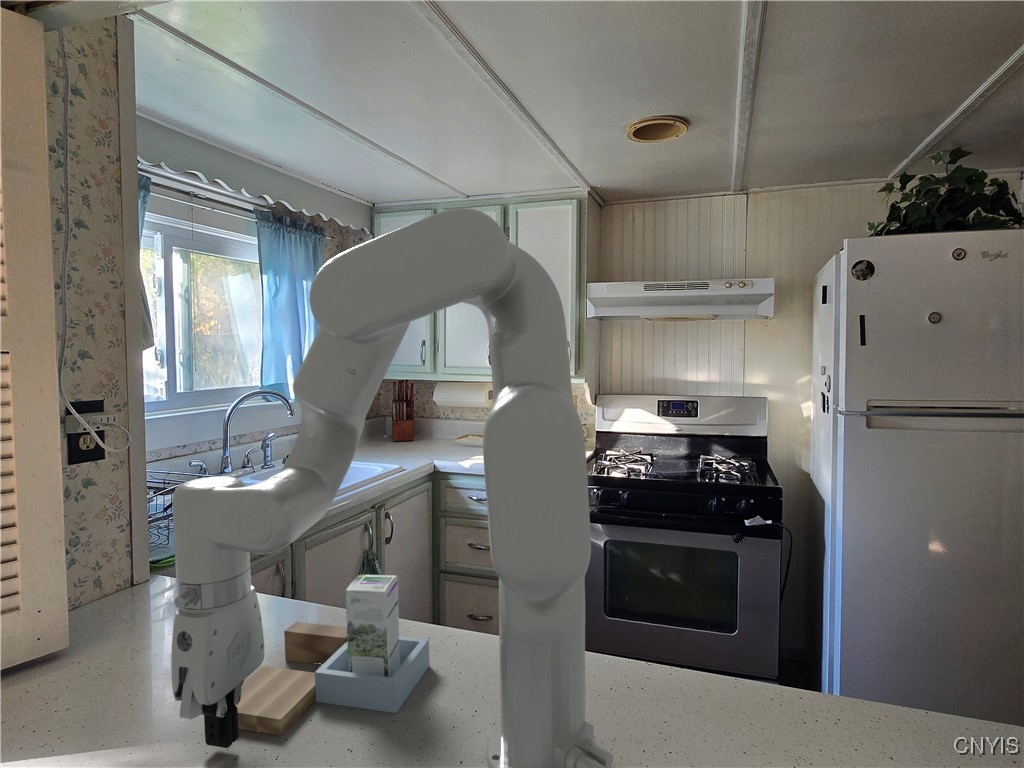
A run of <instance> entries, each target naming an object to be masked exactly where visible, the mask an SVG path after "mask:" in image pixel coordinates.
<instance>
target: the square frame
mask: <svg viewBox="0 0 1024 768" xmlns="http://www.w3.org/2000/svg"><path fill="white" fill-rule="evenodd" d="M399 651H400V667H399V669H398V670H397V671H396V672H395V674H394V675H393V676H392V677H391V678H390V677H383V676H375V675H367V674H360V673H352V672H349V670H348V642H346V643H345V644H344V645H343V646H342V647H341V648H339V649H338V650H337V651H336V652H335V653H334V654H333V655H332V656H331V657H330V658H329V659H328V660H327V661H326V662H325V663H324V664H323V665H320V666H319V667H318V669H316V671H314V673H315V693H316V700H315V702H316V703H322V702H323V703H324V704H328V705H329V704H330V705H334V706H335V705H337V706H342V705H343V706H344V707H348V708H349V707H350V708H355V709H356V708H357V709H364V710H371V711H376V712H377V711H378V712H384V713H391V714H397V713H398V711H399V710H400V708H401V707H402V705H403V704H404V702H405V701H406V700H407V699H408V697H409V696H410V695H411V693H412V691H413V690H414V689H415V687H416V686H417V685H418V683H419V682H420V680H421V678H422V677H423V675H424V674H425V672H427V671H428V669H429V667H430V639H429V638H423V637H422V638H420V637H411V636H404V635H403V636H402V635H399ZM323 703H322V704H323Z"/></svg>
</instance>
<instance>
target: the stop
mask: <svg viewBox="0 0 1024 768" xmlns="http://www.w3.org/2000/svg"><path fill="white" fill-rule="evenodd" d="M283 631H284V633H283V634H284V654H285V655H284V656H285V658H284V659H285V661H288V662H296V663H303V662H304V664H310V663H317V664H316V665H318V663H321V664H324V663H325V662H326V661H327V660H328V659H329V658H330V657H331V656H332V655H333V654H334V653H335V652H336V651H337V650H338V649H339V648H341V647H342V646H343V645H344V644H345V643H346V642H347V626H346V627H345V626H338V625H328V624H320V623H311V622H302V621H296V622H294V623H293V624H292V625H290V626H289V627H288V628H286V629H285V630H283ZM305 662H306V663H305Z"/></svg>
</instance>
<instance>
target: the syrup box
mask: <svg viewBox="0 0 1024 768" xmlns="http://www.w3.org/2000/svg"><path fill="white" fill-rule="evenodd" d="M398 580H399V578H398V575H393V574H392V575H391V574H386V575H385V574H384V575H383V574H359V575H358V576H356V577H355V578H354V579H353V580H352V581H351V582H350V584H349V585H348V587H346V589H345V609H346V610H345V613H346V627H347V642H348V670H349V672H352V673H360V674H367V675H375V676H383V677H390V678H391V677H392V676H393V675H394V674H395V672H396V671H397V670H398V669H399V667H400V651H399V636H400V623H399V622H400V620H399V618H400V615H399V581H398Z"/></svg>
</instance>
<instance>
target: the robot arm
mask: <svg viewBox="0 0 1024 768" xmlns="http://www.w3.org/2000/svg"><path fill="white" fill-rule="evenodd" d="M308 300H309V307H310V311H311V313H312V316H313V318H314V320H315V321H316V323H317V324H318V325H319V328H318V329H317V332H316V334H315V336H314V339H313V340H312V343H311V345H310V347H309V350H308V352H307V353H306V354H305V355H306V356H305V357H304V359H303V360H302V363H301V366H299V370H298V371H297V373H296V375H295V377H294V380H293V383H292V391H293V393H294V396H295V398H296V401H298V403H299V406H300V409H301V410H300V411H301V423H300V426H299V430H298V434H297V436H296V438H295V441H294V444H293V447H292V449H291V450H290V453H289V454H288V457H287V458H286V461H285V463H284V465H283V466H282V468H281V470H280V471H279V472H278V473H276V474H274V475H272V476H270V477H267V478H266V479H264V480H261V481H258V482H256V483H253V484H250V485H247V486H246V484H245V483H244V482H243V480H241V479H239V478H237V477H233V476H222V475H221V476H209V477H201V478H196V479H191V480H188V481H186V482H185V481H184V482H182V483H181V484H180V485H178V486H177V487H176V488H175V490H174V492H173V493H172V504H171V505H172V506H171V507H172V521H173V522H172V523H173V524H172V525H173V542H174V557H175V558H174V561H175V562H174V563H175V581H176V582H175V584H176V597H175V598H174V606H175V607H176V608H177V609H178V610H176V612H175V614H174V615H175V616H174V622H173V631H172V636H171V637H172V640H171V655H170V656H171V661H170V662H171V663H170V664H171V665H170V669H171V671H170V672H171V674H170V675H171V687H172V693H173V697H174V700H175V701H177V702H179V701H180V706H179V707H180V708H179V718H180V719H184V720H185V719H187V720H193V719H195V718H197V717H199V716H201V715H202V716H203V718H204V720H203V721H204V740H205V741H204V742H205V744H206V745H207V746H212V747H218V748H224V749H228V748H229V747H231V746H232V745H233V743H236V741H237V740H238V739H239V738H240V734H239V732H240V731H239V728H238V709H237V706H236V705H238V704H239V702H240V700H241V689H242V685H243V682H244V680H245V679H246V678H248V677H249V676H250V675H251V674H253V673H254V672H255V671H256V670H257V669H259V668H260V667H261V666H262V664H263V662H264V660H265V637H264V628H263V627H264V626H263V621H262V614H261V607H260V603H259V599H258V595H257V592H256V589H255V587H254V586H253V585H252V579H251V578H252V576H251V554H256V555H268V554H274V553H277V552H279V551H281V550H283V549H285V548H287V547H288V546H289V545H290V544H292V543H293V542H295V541H296V540H297V539H298V538H300V536H302V535H303V534H304V533H305V532H306V531H307V530H309V529H310V528H311V527H313V526H314V525H315V524H317V523H318V522H319V521H320V520H321V519H322V518H323V517H324V516H325V514H326V513H327V512H328V510H329V509H330V508H331V505H332V503H333V502H334V499H335V498H336V495H337V494H338V492H339V490H340V487H341V486H342V484H343V482H344V479H345V477H346V475H347V473H348V472H349V470H350V469H349V468H350V467H351V465H352V462H353V460H354V457H355V455H356V452H357V449H358V446H359V442H360V439H361V436H362V433H363V430H364V427H365V423H366V422H365V421H366V417H367V414H368V412H369V410H370V408H371V405H372V404H373V401H374V400H375V397H376V395H377V393H378V391H379V388H380V386H381V385H382V383H383V381H384V379H385V377H386V374H387V372H388V370H389V368H390V366H391V364H392V362H393V359H394V358H395V356H396V354H397V351H398V350H399V348H400V345H401V343H402V341H403V339H404V337H405V335H406V333H407V331H408V329H409V326H410V324H411V323H412V322H414V321H415V320H419V319H422V318H425V317H426V316H429V315H431V314H434V313H436V312H439V311H441V310H443V309H446V308H450V307H452V306H454V305H457V304H459V303H464V304H467V305H472V306H475V308H476V307H477V308H478V309H479V310H480V311H481V313H482V314H483V316H484V318H485V320H486V323H487V330H488V349H489V359H490V366H491V367H490V368H491V382H492V383H491V384H492V407H491V409H490V411H489V413H488V415H487V418H486V420H485V424H484V428H483V439H482V450H483V455H482V456H483V468H484V469H483V470H484V471H483V472H484V482H485V483H484V484H485V495H486V496H485V497H486V510H487V524H488V525H487V526H488V527H487V528H488V538H489V541H488V542H489V550H490V558H491V562H492V566H493V568H494V570H495V573H496V575H497V577H498V618H499V619H498V620H499V621H498V625H499V627H498V629H499V630H498V631H499V632H498V633H499V635H498V636H499V685H500V687H499V689H500V691H499V692H500V693H499V696H500V704H499V705H500V726H499V727H498V728H497V729H495V731H494V732H493V733H492V734H491V737H490V738H489V740H488V744H487V748H486V751H487V752H486V755H487V756H486V757H487V765H488V767H489V768H610V767H611V766H612V763H613V760H614V756H613V753H611V752H609V751H607V750H605V749H603V748H600V746H599V743H598V741H597V737H595V735H594V731H595V730H594V727H595V726H594V725H593V724H591V723H589V722H588V721H586V587H585V586H586V585H585V584H586V580H585V579H586V578H585V575H586V573H587V571H588V569H589V565H590V561H591V554H592V553H591V552H592V544H591V543H592V539H591V538H592V537H591V518H590V502H589V500H590V499H589V481H588V465H587V452H586V451H587V450H586V441H585V433H584V428H583V423H582V421H581V417H580V415H579V413H578V410H577V408H576V406H575V403H574V397H573V389H572V379H571V378H572V376H571V362H570V360H571V359H570V353H569V343H568V334H567V324H566V317H565V312H564V307H563V304H562V303H563V302H562V300H561V296H560V294H559V291H558V289H557V286H556V284H555V282H554V281H553V279H552V278H551V276H550V275H549V272H547V270H546V269H545V268H544V267H543V266H542V265H541V263H540V262H539V261H537V259H536V258H534V257H533V256H532V255H531V254H529V253H528V252H527V251H525V250H524V249H522V248H521V247H519V246H517V245H515V244H514V243H512V242H510V241H509V240H508V238H507V236H506V233H505V232H504V229H502V227H501V225H500V224H499V223H498V222H497V221H496V220H495V219H493V218H492V216H490V215H488V214H486V213H484V212H483V211H481V210H476V209H474V208H468V207H457V208H451V209H446V210H443V211H440V212H436V213H434V214H431V215H429V216H426V217H424V218H421V219H419V220H416V221H414V222H411V223H409V224H407V225H404V226H402V227H400V228H398V229H395V230H393V231H391V232H387V233H385V234H383V235H380V236H378V237H376V238H373V239H371V240H367V241H366V242H363V243H361V244H358V245H356V246H354V247H351V248H349V249H347V250H345V251H343V252H341V253H338V254H337V255H335V256H334V257H331V258H330V259H329V260H327V261H326V262H325V263H324V264H323V265H322V266H321V267H320V268H319V269H318V271H317V273H316V274H315V275H314V278H313V279H312V281H311V285H310V290H309V299H308Z"/></svg>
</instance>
